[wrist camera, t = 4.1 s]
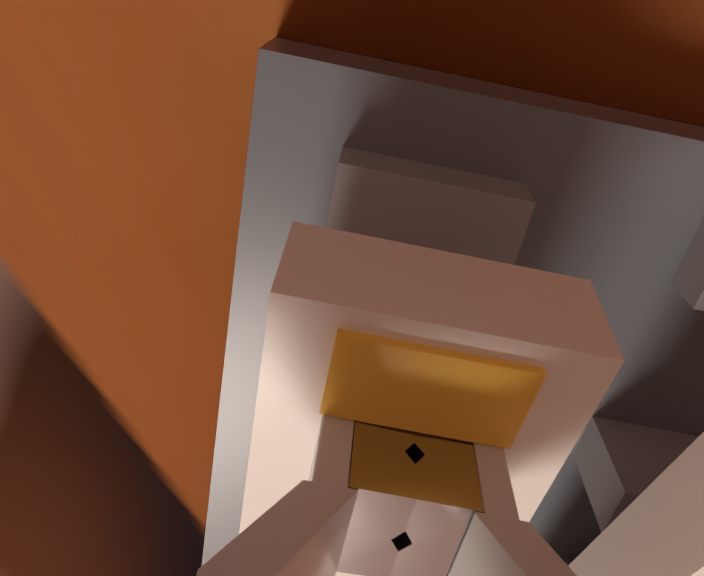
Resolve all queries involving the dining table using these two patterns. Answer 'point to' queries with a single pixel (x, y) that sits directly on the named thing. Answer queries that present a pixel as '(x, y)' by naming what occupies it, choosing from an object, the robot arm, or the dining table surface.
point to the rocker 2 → (656, 527)
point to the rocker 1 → (424, 357)
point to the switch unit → (483, 243)
